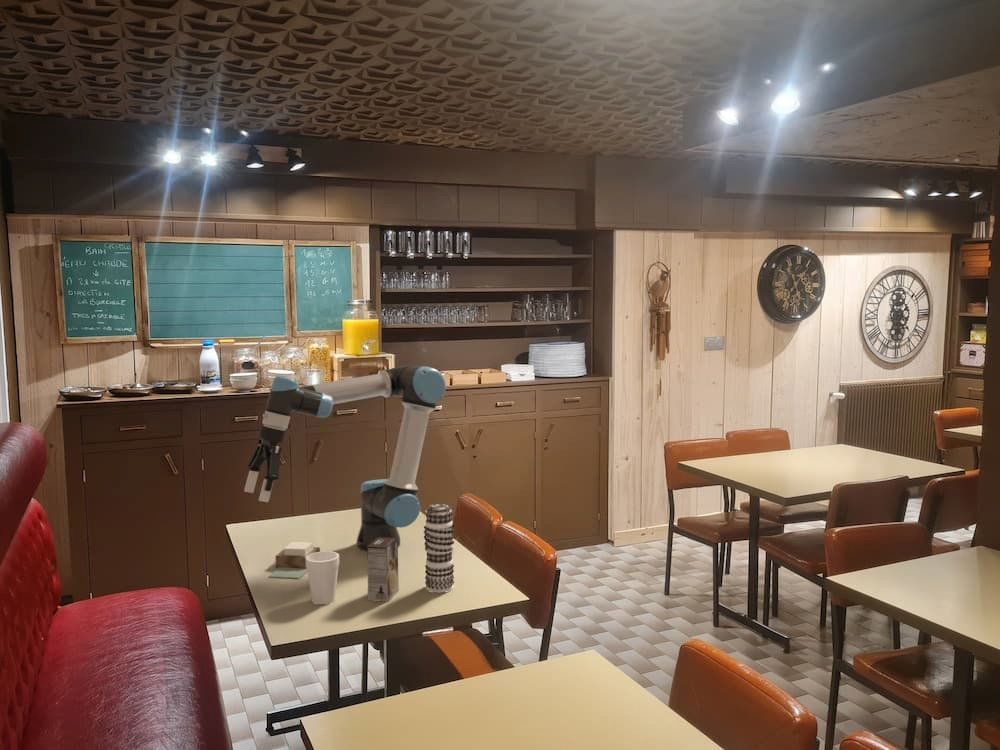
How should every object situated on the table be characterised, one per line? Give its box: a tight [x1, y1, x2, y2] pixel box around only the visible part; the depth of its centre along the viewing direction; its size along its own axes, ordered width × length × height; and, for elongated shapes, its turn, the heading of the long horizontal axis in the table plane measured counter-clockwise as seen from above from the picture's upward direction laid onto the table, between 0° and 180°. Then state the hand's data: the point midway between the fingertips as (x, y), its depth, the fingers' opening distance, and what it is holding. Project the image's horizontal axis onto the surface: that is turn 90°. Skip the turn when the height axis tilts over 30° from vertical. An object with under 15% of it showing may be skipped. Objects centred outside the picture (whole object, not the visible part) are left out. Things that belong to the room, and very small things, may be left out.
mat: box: [268, 567, 307, 579], centre depth 242 cm, size 10×8×1 cm
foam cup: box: [306, 550, 340, 605], centre depth 220 cm, size 10×9×13 cm
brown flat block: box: [275, 546, 321, 569], centre depth 251 cm, size 11×10×4 cm
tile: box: [283, 541, 314, 556], centre depth 250 cm, size 7×7×2 cm
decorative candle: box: [423, 503, 456, 594], centre depth 229 cm, size 9×9×25 cm
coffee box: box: [366, 537, 400, 602], centre depth 223 cm, size 9×6×16 cm
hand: (255, 496), depth 230 cm, fingers open, 13 cm apart
